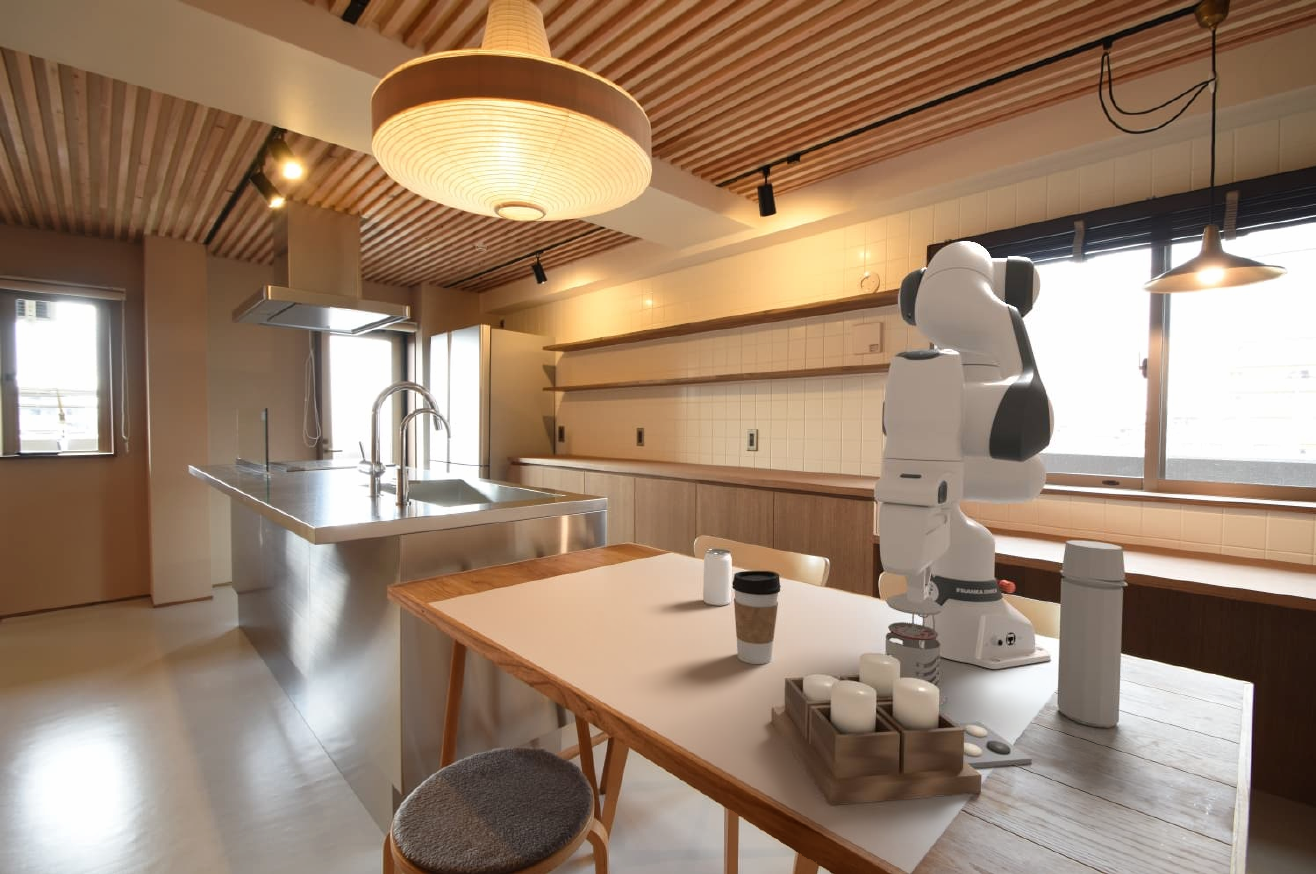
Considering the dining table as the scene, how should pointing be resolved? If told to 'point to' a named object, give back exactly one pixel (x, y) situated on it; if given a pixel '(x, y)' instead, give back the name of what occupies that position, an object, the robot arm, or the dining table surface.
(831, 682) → the button
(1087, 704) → the water bottle
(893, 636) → the french press
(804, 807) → the dining table surface
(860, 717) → the button
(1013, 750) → the pattern card
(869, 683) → the button
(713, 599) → the can
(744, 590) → the coffee cup
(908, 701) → the button
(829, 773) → the button board
